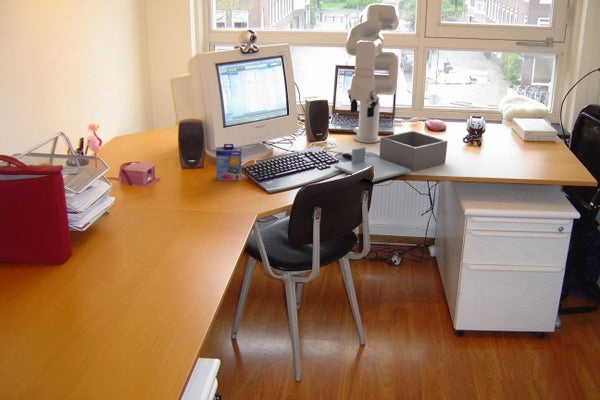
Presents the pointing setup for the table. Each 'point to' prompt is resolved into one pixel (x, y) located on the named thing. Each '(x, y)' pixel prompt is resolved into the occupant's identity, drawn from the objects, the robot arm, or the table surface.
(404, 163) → the tub
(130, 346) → the table surface
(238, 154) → the ink cartridge box
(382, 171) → the lid
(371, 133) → the robot arm
